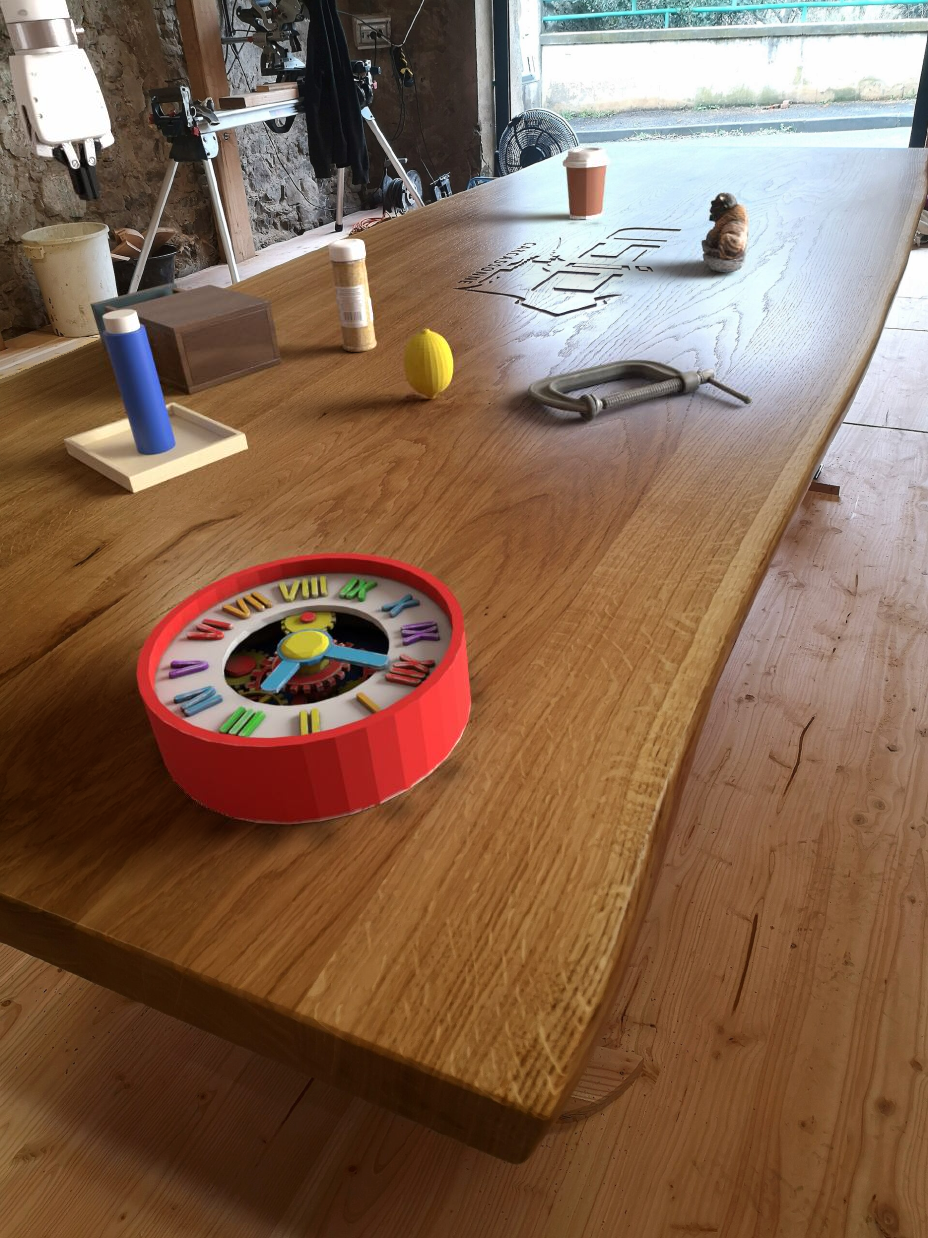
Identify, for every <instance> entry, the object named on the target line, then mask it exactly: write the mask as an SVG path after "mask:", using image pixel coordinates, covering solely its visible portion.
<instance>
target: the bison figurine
mask: <svg viewBox="0 0 928 1238" xmlns="http://www.w3.org/2000/svg"><path fill="white" fill-rule="evenodd" d="M710 205H711V206H710V208H709V210H708V211H709V213H710V214H709V217H708V221H709V222H714V226H713V227H712V228H711V229H709V231H708V232H707V234H706V236H705V239H702V240H701V247H702V260H703V262H704V263H705V264H706V265H707V266H708V267H709V269H710V270H712V271H715V272H719V273H732V272H737V271H739V270H741V269H742V268H743V267H744V265H745V262H746V256H747V254H746V250H747V246H748V238H749V215H748V212H747V210H746V208H745V206H744V205H742V204H738V201H737V199H736V197H735V196H734V195H733V194H732V193H730V192H722V191H720V193H718V194H717V195H716V197H715V198H714V199H712V200H711V201H710Z"/></svg>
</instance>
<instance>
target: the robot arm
mask: <svg viewBox="0 0 928 1238" xmlns="http://www.w3.org/2000/svg"><path fill="white" fill-rule="evenodd" d="M0 10H1V13H2V16H3V19H4V22H5V26H6V28H7V31H8V35H9V38H10V42H11V45H12V48H13V50H14V55H8V61H9V63H8V64H9V69H10V71H9V72H10V76H11V81H12V87H13V93H14V96H15V101H16V106H17V109H18V114H19V117H20V121H21V124H22V125H21V126H22V128H23V132H24V134H25V136H26V139H27V140H28V141H29V142H31V146H32V152H33V154H34V155H35V156H37V157H45V158H53V159H55V160H56V161H57V162H59V163H60V164H62V167H64V168H66V169H67V171H68V175H69V178H70V181H71V184H72V188H73V191H74V194H75V195H77V196H78V198H79V200H81V201H85V202H86V201H87V202H91V201H93V200H101V195H100V191H101V186H100V182H99V178H98V174H97V172H96V169H95V166H96V164H97V159H98V157H99V155H100V152H101V151H102V150H103V149H105V148H107V147H109V146H111V145H113V144H114V143H115V138H114V135H113V134H112V132H111V120H110V117H109V116H110V115H109V113H108V109H107V105H106V102H105V100H104V96H103V93H102V91H101V87H100V84H99V82H98V79H97V76H96V75H95V72H94V70H93V68H92V66H91V65H92V64H91V63H90V61H89V57H88V56H87V54H86V51H85V50H84V48H79V46H78V44H79V40H78V39H79V38H82V37H83V38H84V37H85V30H84V28H83V26H82V24H80V23H79V24H76V23H74V22H73V19H72V18H70V17H71V16H70V13H69V9H68V5H67V2H66V0H0ZM73 142H75V144H76V150H77V154H76V151H75V149H74V146H73V145H72V143H73ZM49 145H53V146H49Z"/></svg>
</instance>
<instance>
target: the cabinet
mask: <svg viewBox="0 0 928 1238" xmlns="http://www.w3.org/2000/svg"><path fill="white" fill-rule="evenodd" d="M124 309H130V310H135V311H136V313H137V317H138V321H139V324H142V325H144V327H145V330H146V334H147V338H148V342H149V345H150V349H151V353H152V357H153V360H154V364H155V368H156V371H157V375H158V379H159V383H161V384H164V385H167V386H169V387H171V388H172V389H173V388H174V389H176V390H178V391H180V392H183V393H185V394H188V395H193V394H195V393H199V392H201V391H204V390H207V389H210V388H213V387H216V386H220V385H222V384H226V383H228V382H232V381H234V380H237V379H240V378H242V377H246V376H248V375H252V374H254V373H257V372H261V371H263V370H267V369H269V368H272V367H275V366H279V365H281V364H282V361H281V353H280V349H279V343H278V338H277V333H276V328H275V327H276V326H275V321H274V317H273V312H272V306H271V301H270V300H269V299H266V298H261V297H257V296H254V295H250V294H248V293H247V294H245V293H243V292H239V291H235V290H232V289H227V288H224V287H220V286H216V285H212V284H207V285H206V284H205V285H202V286H198V287H195V288H192V289H191V288H190V289H188V290H186V291H183V292H180V293H176V294H172V295H168V296H165V297H161V298H157V299H153V300H150V301H146V302H142V303H138V304H134V305H131V306H127V307H123V308H119V309H117V310H124Z"/></svg>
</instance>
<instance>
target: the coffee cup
mask: <svg viewBox="0 0 928 1238" xmlns="http://www.w3.org/2000/svg"><path fill="white" fill-rule="evenodd" d="M610 163H611V158H610V157H609V156H608V155H607V154H606V149H605V148H603V147H599V146H598V147H596V146H589V147H578V148H573V149H569V150H568V152H567V156H566V157H565V159H564V160H562V166H563V167H565V170H566V171H565V172H566V182H567V183H566V184H567V185H566V186H567V195H568V196H567V198H568V211H569V218H570V217H571V218H570V219H572V218H574V219H572V220H578V221H580V220H579V219H586V220H585V221H588V220H594V219H593V218H595V219H599V218H601V217H602V216H603V208H604V207H603V206H604V195H605V184H606V174H607V173H606V172H607V165H609V164H610ZM600 216H601V217H600ZM598 217H599V218H598Z"/></svg>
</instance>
